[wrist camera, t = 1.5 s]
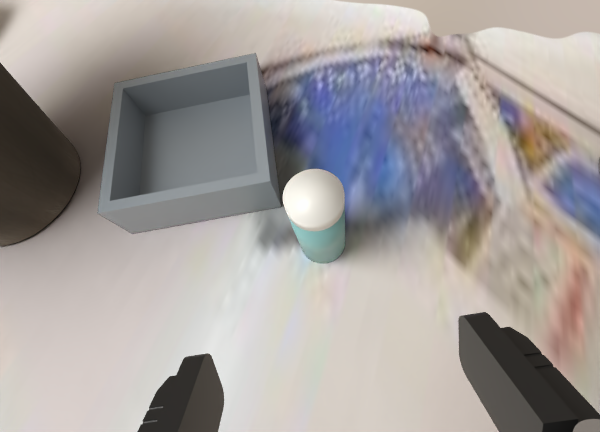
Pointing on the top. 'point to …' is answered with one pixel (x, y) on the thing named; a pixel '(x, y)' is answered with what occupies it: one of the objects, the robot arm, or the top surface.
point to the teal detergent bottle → (317, 213)
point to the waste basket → (31, 165)
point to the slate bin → (189, 147)
